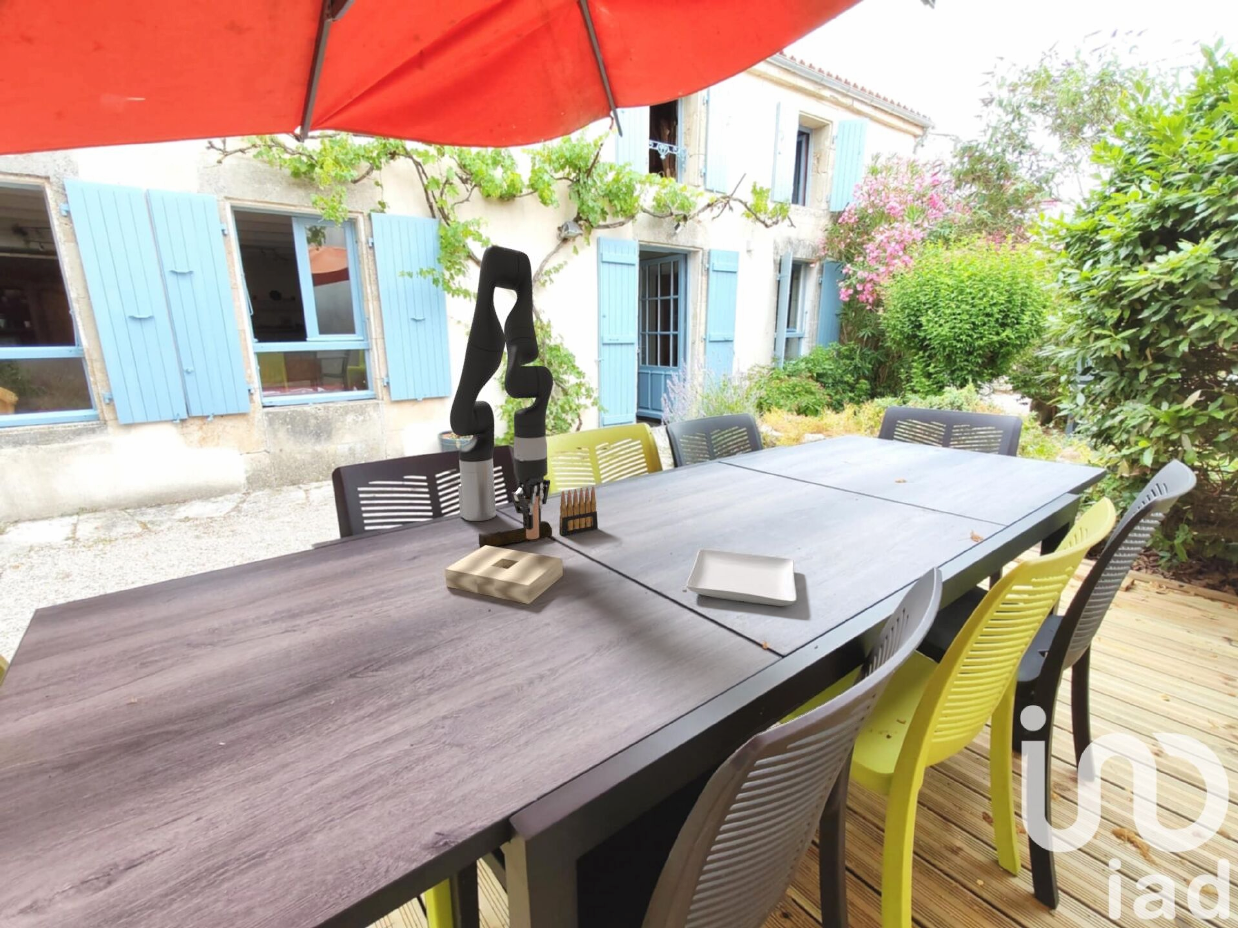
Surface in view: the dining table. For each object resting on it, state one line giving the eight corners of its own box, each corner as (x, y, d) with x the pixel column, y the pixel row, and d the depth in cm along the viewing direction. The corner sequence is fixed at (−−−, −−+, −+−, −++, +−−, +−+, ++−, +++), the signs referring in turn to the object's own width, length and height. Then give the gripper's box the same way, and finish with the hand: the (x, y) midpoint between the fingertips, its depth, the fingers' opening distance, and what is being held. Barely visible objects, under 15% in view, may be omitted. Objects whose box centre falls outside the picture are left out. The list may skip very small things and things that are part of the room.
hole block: (446, 586, 114) (445, 568, 113) (486, 561, 127) (485, 545, 126) (528, 604, 107) (528, 585, 106) (562, 575, 120) (562, 558, 119)
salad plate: (792, 570, 123) (793, 556, 122) (795, 616, 103) (797, 599, 102) (698, 560, 129) (699, 546, 128) (684, 601, 109) (684, 585, 108)
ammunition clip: (594, 527, 150) (594, 484, 147) (598, 529, 148) (597, 486, 145) (559, 534, 144) (558, 490, 142) (562, 536, 143) (561, 492, 140)
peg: (523, 537, 128) (522, 497, 126) (530, 533, 131) (529, 493, 128) (534, 539, 127) (533, 498, 124) (541, 535, 130) (540, 495, 127)
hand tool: (481, 552, 133) (480, 534, 132) (478, 547, 136) (477, 529, 135) (555, 540, 141) (555, 523, 140) (550, 535, 144) (549, 518, 143)
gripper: (532, 447, 132) (534, 515, 136) (498, 459, 119) (501, 534, 123) (560, 450, 129) (560, 519, 133) (528, 463, 116) (530, 539, 120)
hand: (532, 526), depth 128 cm, fingers closed on peg, 3 cm apart
